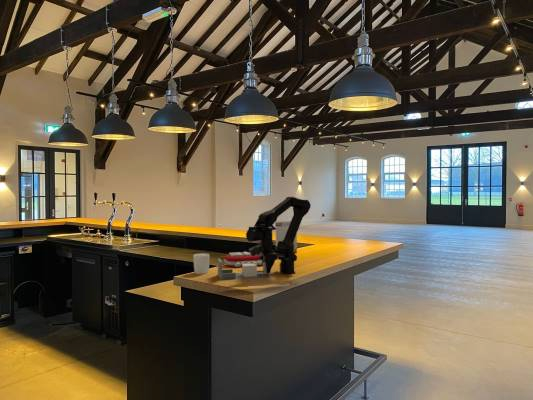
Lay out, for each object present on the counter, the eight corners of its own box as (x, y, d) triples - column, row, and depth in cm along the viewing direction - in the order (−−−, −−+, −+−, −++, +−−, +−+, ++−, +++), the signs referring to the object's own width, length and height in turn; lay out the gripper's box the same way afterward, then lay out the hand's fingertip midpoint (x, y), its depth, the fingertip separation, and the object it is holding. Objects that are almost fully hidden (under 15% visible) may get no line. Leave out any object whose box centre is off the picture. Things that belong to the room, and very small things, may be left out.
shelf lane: (265, 273, 198) (265, 255, 198) (272, 279, 185) (272, 259, 184) (217, 276, 193) (217, 257, 192) (221, 283, 179) (220, 262, 179)
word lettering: (265, 248, 242) (280, 255, 213) (265, 259, 242) (280, 268, 213) (220, 250, 234) (230, 258, 206) (221, 261, 235) (230, 271, 206)
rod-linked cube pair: (268, 272, 194) (268, 261, 194) (271, 275, 188) (271, 263, 188) (242, 274, 191) (241, 263, 191) (244, 277, 185) (244, 265, 185)
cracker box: (297, 251, 268) (296, 220, 268) (296, 252, 262) (296, 221, 262) (276, 251, 270) (275, 220, 269) (275, 252, 264) (275, 221, 263)
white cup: (210, 272, 202) (210, 253, 202) (208, 276, 194) (208, 255, 194) (194, 273, 202) (194, 253, 201) (192, 276, 194) (192, 256, 193)
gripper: (246, 238, 198) (246, 269, 198) (254, 242, 180) (254, 277, 180) (268, 237, 200) (268, 268, 201) (277, 241, 182) (278, 275, 183)
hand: (266, 272), depth 191 cm, fingers open, 5 cm apart
